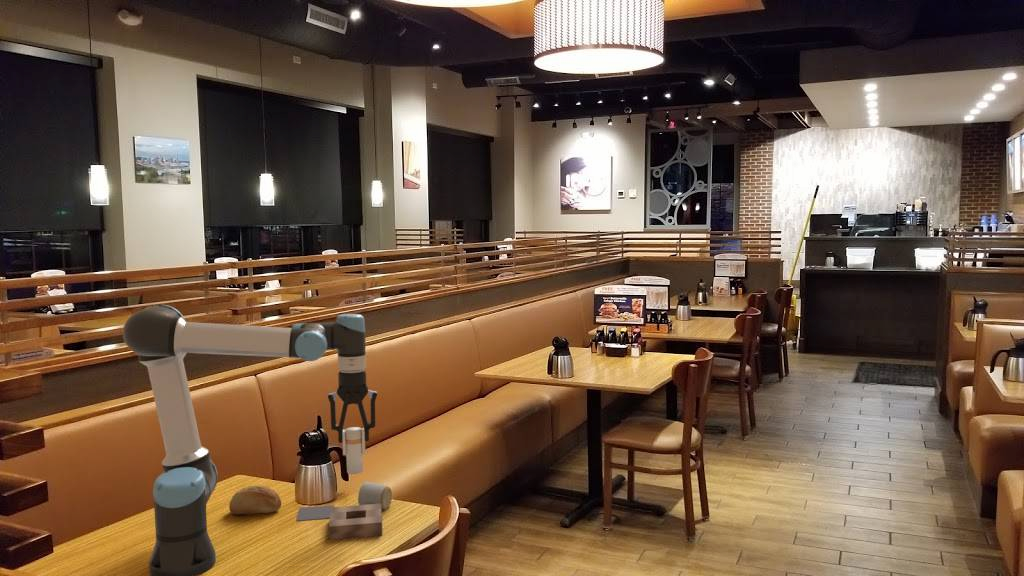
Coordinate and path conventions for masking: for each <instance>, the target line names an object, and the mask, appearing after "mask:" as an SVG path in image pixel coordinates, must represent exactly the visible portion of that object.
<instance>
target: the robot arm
mask: <svg viewBox="0 0 1024 576" xmlns="http://www.w3.org/2000/svg"><path fill="white" fill-rule="evenodd" d="M185 319H186V318H185V317H184V316H183V314H182V313H181V312H180V311H179V310H178V309H176V308H175V307H173V306H170V305H167V304H153V305H149V306H147V307H145V308H143V309H142V310H139V311H137V312H135V313H132V315H130V316H128V318H127V319H126V322H125V323H124V326H123V329H122V338H123V341H124V343H125V345H126V346H127V348H128V349H129V350H130V351H132V352H133V353H135V354H137V357H138V362H139V363H140V364H141V365H144V366H146V367H147V372H148V376H149V381H150V385H151V389H152V393H153V399H154V404H155V408H156V414H157V418H158V423H159V426H160V430H161V436H162V440H163V444H164V450H165V457H164V458H163V460H162V461H161V465H162V469H163V473H161V474H160V475H158V477H156V479H155V480H154V483H153V491H152V497H153V504H154V505H153V506H154V507H153V510H154V525H155V528H154V529H155V542H154V547H153V549H152V554H151V557H150V560H149V567H148V568H149V574H150V575H149V576H197V575H198V576H199V575H200V574H203V573H205V572H206V571H208V570H210V569H211V568H213V567H214V565H215V564H216V562H217V561H216V559H217V558H216V557H217V556H216V555H217V554H216V550H215V547H214V545H213V542H212V540H211V537H210V535H209V533H208V525H207V523H208V522H207V521H208V520H207V503H208V502H209V500H210V497H211V496H212V495H213V492H214V491H215V490H216V487H217V485H218V484H217V483H218V470H217V467H216V465H215V464H214V463H213V461H212V459H211V455H210V452H209V449H208V448H206V447H204V446H202V442H201V438H200V434H199V429H198V424H197V418H196V415H195V410H194V405H193V402H192V401H193V400H192V396H191V391H190V387H189V382H188V377H187V373H186V367H185V363H184V358H185V357H186V355H187V354H202V355H203V354H207V355H208V354H209V355H225V356H226V355H230V356H252V357H269V358H270V357H272V358H275V357H276V358H289V359H290V358H291V359H301V360H303V361H304V362H305V361H306V362H315V361H317V360H319V359H321V358H322V357H323V356H324V355H325V353H326V352H327V351H334V350H337V369H338V372H337V373H338V374H337V376H338V378H337V379H338V380H337V381H338V384H337V385H338V387H337V390H336V391H334V392H330V393H328V395H327V399H328V401H329V404H330V405H329V407H330V428H331V430H332V431H337V436H338V437H337V438H338V440H337V441H338V443H339V444H342V456H346V435H345V429H344V425H345V421H346V420H345V419H346V416H347V411H348V406H349V405H352V404H354V405H357V407H358V411H359V414H360V418H361V422H362V425H363V428H361V429H362V454H363V455H365V454H366V442H369V440H370V429H372V428H373V429H374V428H375V427H376V400H377V397H378V391H376V390H370V389H369V388H368V386H367V371H366V370H365V369H366V368H367V356H366V355H367V354H366V325H365V322H366V321H365V317H364V316H363V315H362V314H360V313H343V314H339V315H337V317H336V320H335V321H333V322H310V323H309V322H302V323H294V324H293V325H292V326H291V327H283V326H282V327H280V326H277V327H276V326H262V325H247V324H231V323H230V324H227V323H215V322H214V323H210V322H209V323H207V322H193V321H186V320H185ZM367 395H368V398H369V399H370V422H369V421H368V417H367V415H366V410H365V406H364V402H363V401H364V399H365V397H366V396H367ZM338 397H339V398H340V400H341V401H343V403H342V404H343V405H342V409H341V413H340V418H339V424H337V413H336V412H337V411H336V408H337V407H336V400H337V398H338Z"/></svg>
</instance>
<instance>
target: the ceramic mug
mask: <svg viewBox="0 0 1024 576" xmlns="http://www.w3.org/2000/svg"><path fill="white" fill-rule="evenodd" d="M358 491H359V492H358V497H357V502H358V505H368V504H381V511H385V510H387V509H388V508H389V506H390V505H391V502H392V500H393V499H392V498H393V492H392V488H391V487H390V486H388V485H385V484H380V483H379V484H378V483H376V482H370V481H365V482H363V483H362V484H361V486H360V488H359V490H358Z"/></svg>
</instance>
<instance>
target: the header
mask: <svg viewBox="0 0 1024 576" xmlns="http://www.w3.org/2000/svg"><path fill="white" fill-rule="evenodd" d="M383 533H384V531H383V515H382V510H381V504H368V505H359V504H354V505H343V506H334V507H332V508H331V515H330V519H329V524H328V541H334V540H335V541H336V540H337V541H338V540H349V539H359V538H360V539H362V538H373V537H382V536H383V535H384V534H383Z"/></svg>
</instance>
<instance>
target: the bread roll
mask: <svg viewBox="0 0 1024 576" xmlns="http://www.w3.org/2000/svg"><path fill="white" fill-rule="evenodd" d="M280 497H281V496H280V495H279V493H277V492H276V491H275V490H274V489H273V488H270V487H268V486H266V485H259V484H258V485H257V484H255V485H249V486H246V487H243V488H241V489H239V490H238V491H236V492H235V493H234V494H233V495H232V497H231V499H230V500H229V506H228V509H229V511H230V513H231V514H233V515H236V516H237V515H250V514H251V515H252V514H267V513H273V512H277V511H278V510H280V509H281V506H282V500H281V498H280Z"/></svg>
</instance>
